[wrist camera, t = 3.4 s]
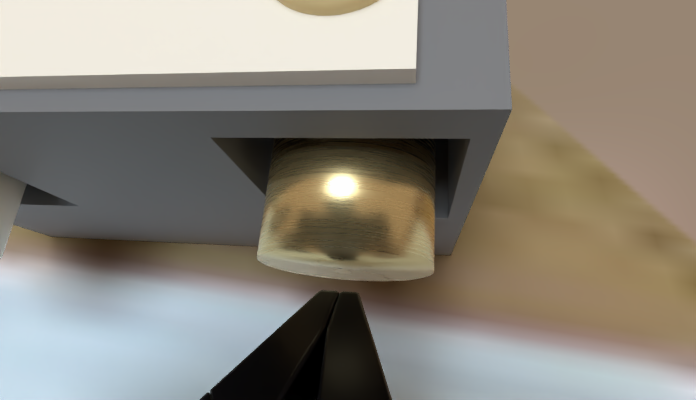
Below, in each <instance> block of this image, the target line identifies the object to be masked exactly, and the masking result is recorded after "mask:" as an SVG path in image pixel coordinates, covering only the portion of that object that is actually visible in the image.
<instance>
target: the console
mask: <svg viewBox="0 0 696 400" xmlns="http://www.w3.org/2000/svg"><path fill="white" fill-rule="evenodd" d="M509 65H510V63H509V45H508V26H507V8H506V0H0V172H1V173H4V174H6V175H8V176H10V177H13V178H15V179H17V180H20V181H22V182H24V183H27V185H26V188H25V191H24V194H23V197H22V200H21V203H20V206H19V209H18V212H17V214H16V217H15V220H14V223H13V225H16V226H19V227H22V228H26V229H29V230H32V231H35V232H38V233H42V234H45V235H48V236H51V237H67V238H88V239H110V240H131V241H153V242H174V243H196V244H217V245H239V246H258V245H259V238H260V231H261V225H262V218H263V211H264V204H265V197H266V191H267V184H268V177H269V170H270V163H271V157H272V150H273V143H274V138H416V139H434V142H435V146H436V156H435V241H434V255H451V253H452V251H453V248H454V246H455V244H456V241H457V239H458V237H459V234H460V232H461V229H462V227H463V225H464V222H465V220H466V218H467V215H468V213H469V210H470V208H471V206H472V203H473V201H474V198H475V196H476V194H477V191H478V189H479V187H480V184H481V182H482V179H483V177H484V175H485V172H486V170H487V168H488V165H489V163H490V160H491V158H492V156H493V153H494V151H495V149H496V146H497V144H498V141H499V139H500V137H501V134H502V132H503V129H504V127H505V125H506V122H507V120H508V118H509V115H510V113H511V110H512V101H511V82H510V66H509Z"/></svg>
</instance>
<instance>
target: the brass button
mask: <svg viewBox="0 0 696 400" xmlns="http://www.w3.org/2000/svg"><path fill="white" fill-rule="evenodd" d="M435 156H436V146H435V142H434V139H416V138H274V143H273V150H272V157H271V163H270V170H269V177H268V184H267V191H266V197H265V204H264V211H263V218H262V225H261V231H260V238H259V245H258V252H257V259H258V260H259V261H260V262H261V263H263V264H265V265H267V266H270V267H273V268H276V269H280V270H283V271H288V272H292V273H297V274H303V275H309V276H315V277H323V278H332V279H342V280H357V281H403V280H413V279H419V278H424V277H427V276H430V275H432V274H433V273H434V241H435Z"/></svg>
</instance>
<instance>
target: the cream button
mask: <svg viewBox="0 0 696 400" xmlns="http://www.w3.org/2000/svg"><path fill="white" fill-rule="evenodd" d="M26 185H27V183H24V182H22V181H20V180H17V179H15V178H13V177H10V176H8V175H6V174H4V173H1V172H0V259H1V258H2V255H3V253H4V250H5V247H6V244H7V241H8V238H9V235H10V232H11V229H12V226H13V223H14V220H15V217H16V214H17V212H18V209H19V206H20V203H21V200H22V197H23V194H24V191H25V188H26Z"/></svg>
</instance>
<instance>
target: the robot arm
mask: <svg viewBox="0 0 696 400" xmlns="http://www.w3.org/2000/svg"><path fill="white" fill-rule="evenodd" d="M200 400H392V398H391V395H390V392H389V389H388V385H387V382H386V379H385V376H384V372H383V369H382V366H381V363H380V360H379V356H378V353H377V350H376V347H375V344H374V340H373V337H372V334H371V331H370V328H369V324H368V321H367V318H366V315H365V312H364V308H363V305H362V302H361V299H360V296H359V294H358V293H357V292H341V293H340V294H339V292H337V291H327V290H321V291H319V292H318V293H317V294H316V295H315V296H314V297H313V298H311V299H310V300H309V301H308V302H307V303H306V304H305V305H304V306H303V307H301V308H300V309H299V310H298V311H297V312H296V313H295V314H294V315H293V316H292V317H290V318H289V319H288V320H287V321H286V322H285V323H284V324H283V325H282V326H281V327H279V328H278V329H277V330H276V331H275V332H274V333H273V334H272V335H271V336H269V337H268V338H267V339H266V340H265V341H264V342H263V343H262V344H261V345H260V346H258V347H257V348H256V349H255V350H254V351H253V352H252V353H251V354H250V355H248V356H247V357H246V358H245V359H244V360H243V361H242V362H241V363H240V364H239V365H237V366H236V367H235V368H234V369H233V370H232V371H231V372H230V373H229V374H228V375H226V376H225V377H224V378H223V379H222V380H221V381H220V382H219V383H218V384H216V385H215V386H214V387H213V388H212V389H211V390H210V393H206V394H205V395H204V396H203V397H202V398H201V399H200Z"/></svg>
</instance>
